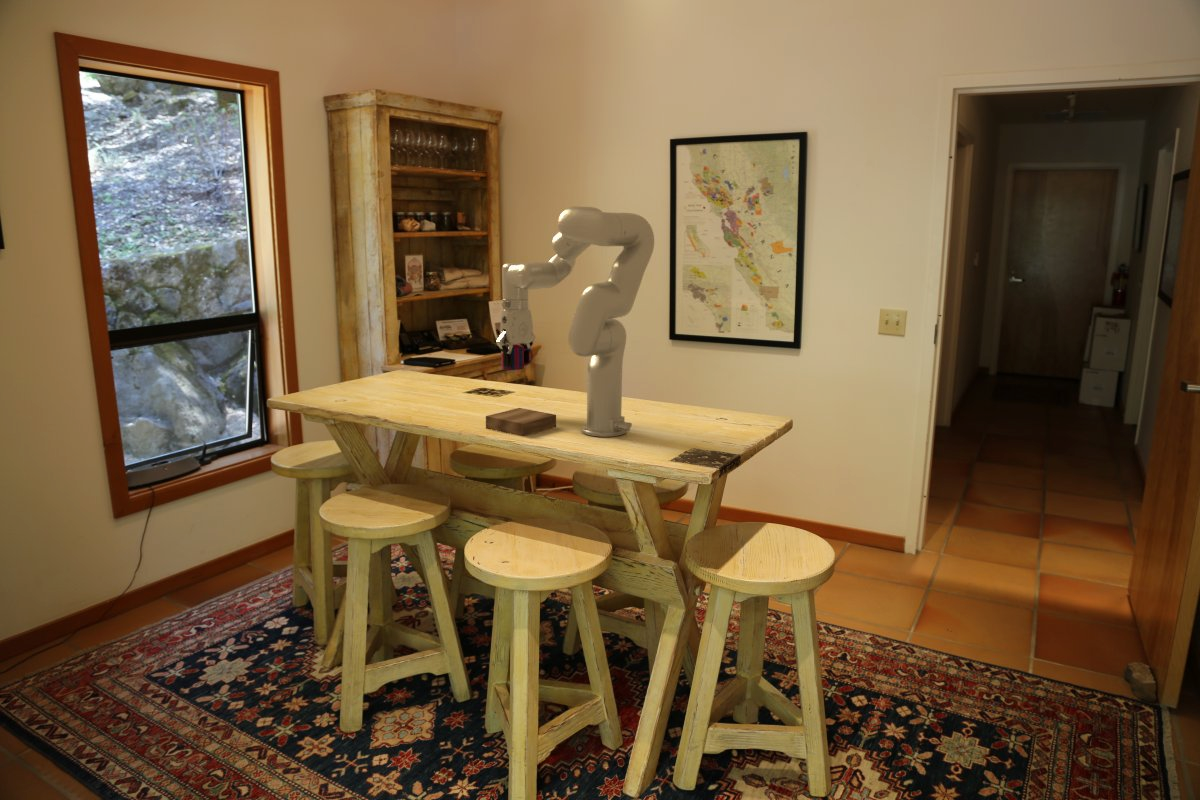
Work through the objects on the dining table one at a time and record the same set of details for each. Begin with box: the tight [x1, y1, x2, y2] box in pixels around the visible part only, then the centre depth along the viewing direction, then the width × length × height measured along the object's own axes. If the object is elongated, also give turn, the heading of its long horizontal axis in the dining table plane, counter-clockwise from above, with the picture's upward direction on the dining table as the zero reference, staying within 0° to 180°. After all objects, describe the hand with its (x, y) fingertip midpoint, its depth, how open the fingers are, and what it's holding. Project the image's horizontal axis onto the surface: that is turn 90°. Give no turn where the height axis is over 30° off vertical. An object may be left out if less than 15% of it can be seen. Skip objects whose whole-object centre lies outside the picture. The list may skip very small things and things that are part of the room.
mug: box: [500, 344, 534, 371], centre depth 252 cm, size 7×10×7 cm
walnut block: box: [485, 407, 557, 437], centre depth 238 cm, size 14×14×4 cm
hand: (516, 364), depth 252 cm, fingers closed on mug, 6 cm apart
